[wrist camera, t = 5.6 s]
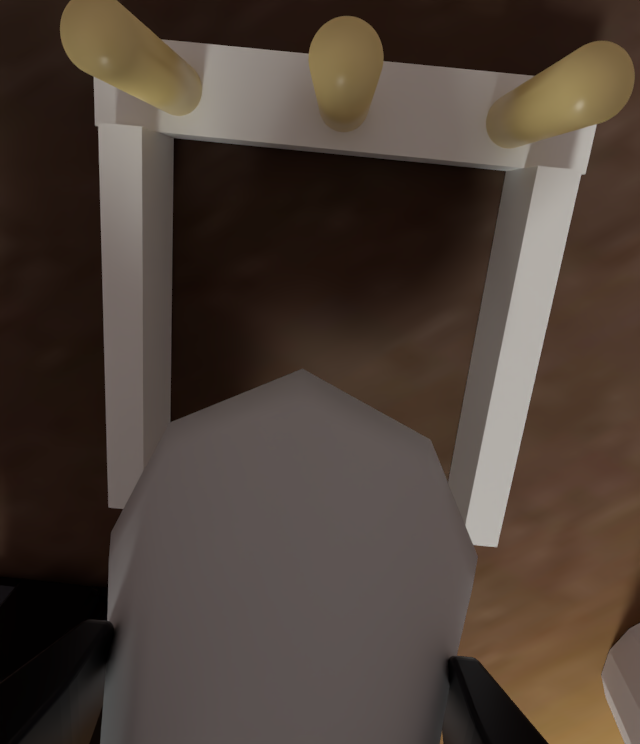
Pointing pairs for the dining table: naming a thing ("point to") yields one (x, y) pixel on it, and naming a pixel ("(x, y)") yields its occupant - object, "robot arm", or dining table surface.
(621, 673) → the white cup
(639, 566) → the dining table surface
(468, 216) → the dining table surface
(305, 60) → the wall peg rack
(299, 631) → the flask
